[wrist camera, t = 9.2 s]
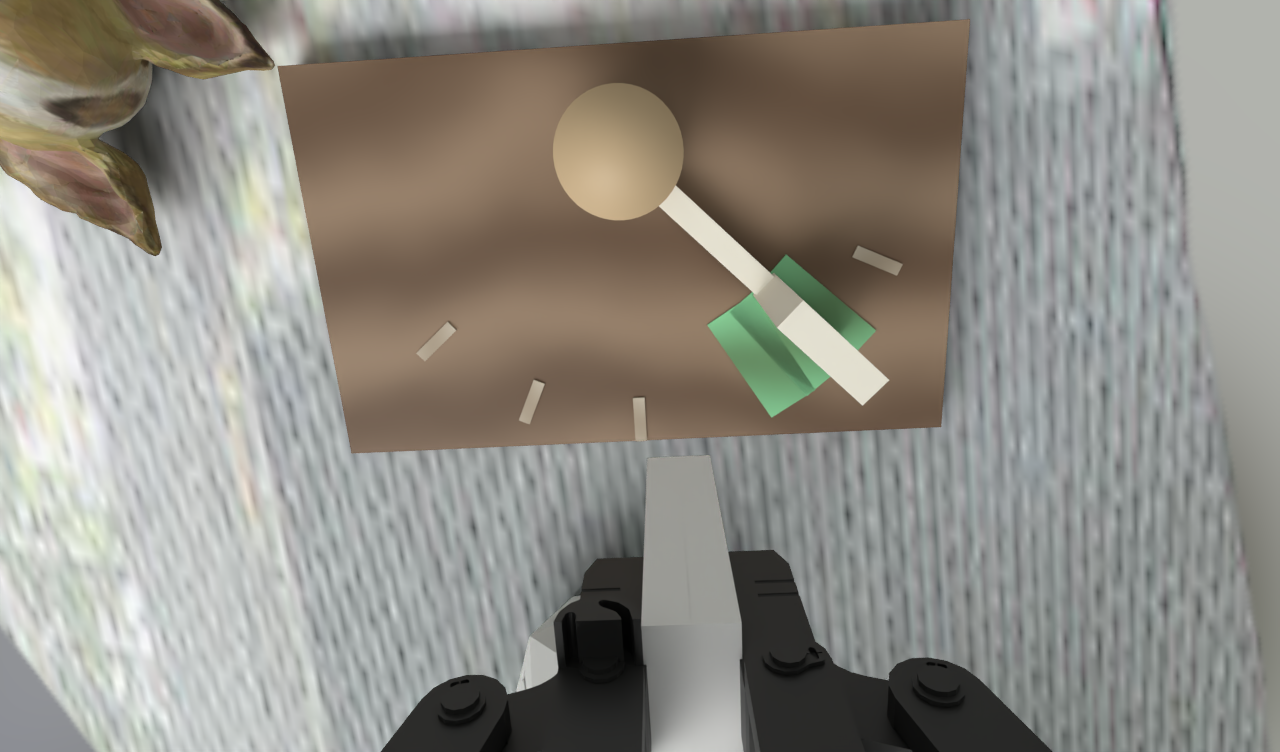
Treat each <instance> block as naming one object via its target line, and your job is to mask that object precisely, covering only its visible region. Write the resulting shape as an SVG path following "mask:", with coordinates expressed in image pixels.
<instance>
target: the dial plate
mask: <svg viewBox="0 0 1280 752" xmlns="http://www.w3.org/2000/svg"><path fill="white" fill-rule="evenodd" d="M969 26H970V19H967V20H952V21H938V22H923V23H908V24H893V25H879V26H864V27H849V28H834V29H820V30H805V31H790V32H775V33H760V34H746V35H731V36H716V37H701V38H687V39H672V40H657V41H642V42H628V43H613V44H598V45H583V46H569V47H554V48H539V49H524V50H510V51H495V52H480V53H465V54H451V55H436V56H421V57H406V58H391V59H377V60H362V61H347V62H332V63H318V64H303V65H288V66H278V72H279V77H280V82H281V87H282V92H283V98H284V103H285V108H286V113H287V119H288V124H289V129H290V134H291V139H292V145H293V150H294V155H295V160H296V165H297V171H298V176H299V181H300V186H301V192H302V197H303V202H304V207H305V212H306V218H307V223H308V228H309V233H310V239H311V244H312V249H313V254H314V259H315V265H316V270H317V275H318V280H319V286H320V291H321V296H322V301H323V306H324V312H325V317H326V322H327V327H328V333H329V338H330V343H331V348H332V353H333V359H334V364H335V369H336V374H337V379H338V385H339V390H340V395H341V400H342V406H343V411H344V416H345V421H346V426H347V432H348V437H349V442H350V447H351V453H371V452H394V451H416V450H438V449H461V448H483V447H505V446H528V445H550V444H572V443H595V442H617V441H647V440H662V439H684V438H706V437H728V436H751V435H773V434H795V433H818V432H840V431H862V430H885V429H907V428H929V427H941V421H942V407H943V392H944V378H945V364H946V350H947V336H948V322H949V308H950V294H951V280H952V266H953V252H954V238H955V223H956V209H957V195H958V181H959V167H960V153H961V139H962V125H963V111H964V97H965V83H966V69H967V55H968V40H969ZM610 83H625V84H632V85H635V86H638V87H641V88H643V89H645V90H648V91H649V92H651V93H652V94H654V95H656V96H657V97H658V98H659V99H660V100H662V101H663V103H664V104H665V105H666V106H667V107H668V108H669V110H670V111H671V112H672V114H673V115H674V117H675V119H676V121H677V123H678V126H679V128H680V131H681V135H682V139H683V147H684V158H683V165H682V170H681V173H680V176H679V179H678V181H677V184H676V186H677V187H678V188H679V189H680V190H681V191H682V192H683V193H684V194H686V195H687V196H688V197H689V198H690V199H691V200H692V201H693V202H694V203H695V204H696V205H697V206H698V207H700V208H701V209H702V210H703V211H704V212H705V213H706V214H707V215H708V216H709V217H710V218H711V219H713V220H714V221H715V222H716V223H717V224H718V225H719V226H720V227H721V228H722V229H723V230H724V231H725V232H727V233H728V234H729V235H730V236H731V237H732V238H733V239H734V240H735V241H736V242H737V243H738V244H740V245H741V246H742V247H743V248H744V249H745V250H746V251H747V252H748V253H749V254H750V255H751V256H752V257H754V258H755V259H756V260H757V261H758V262H759V263H760V264H761V265H762V266H763V267H764V268H765V269H766V270H768V271H769V272H770V273H771V274H773V273H775V274H776V275H777V276H778V277H779V278H780V279H781V280H782V281H783V282H784V283H785V284H786V285H788V286H789V287H790V288H791V289H792V290H793V291H794V292H795V293H796V294H797V295H798V296H799V297H800V298H802V299H803V300H804V301H805V302H806V303H807V304H808V305H809V306H810V307H811V308H812V309H813V310H814V311H816V312H817V313H818V314H819V315H820V316H821V317H822V318H823V319H824V320H825V321H826V322H827V323H828V324H830V325H831V326H832V327H833V328H834V329H835V330H836V331H837V332H838V333H839V334H840V335H841V336H842V337H844V338H845V339H846V340H847V341H848V342H849V343H850V344H851V345H852V346H853V347H854V348H855V349H856V350H858V351H859V352H860V353H861V354H862V355H863V356H864V357H865V358H866V359H867V360H868V361H869V362H870V363H872V364H873V365H874V366H875V367H876V368H877V369H878V370H879V371H880V372H881V373H882V374H883V375H884V376H885V377H887V378H888V379H889V381H888V382H887V383H886V384H885V385H884V386H883V387H882V388H881V389H880V390H879V391H878V392H876V393H875V394H874V395H873V396H872V397H871V398H870V399H869V400H868V401H867V402H866V403H865V404H864V405H863V406H862V405H861V404H860V403H859V402H858V401H857V400H856V399H855V398H854V397H852V396H851V395H850V394H849V393H848V392H847V391H846V390H845V389H844V388H843V387H841V386H840V385H839V384H838V383H837V382H836V381H835V380H834V379H833V378H832V377H831V376H829V375H828V374H827V373H826V372H825V371H824V370H823V369H822V368H821V367H820V366H818V365H817V364H816V363H815V362H814V361H813V360H812V359H811V358H810V357H809V356H807V355H806V354H805V353H804V352H803V351H802V350H801V349H800V348H799V347H798V346H796V345H795V344H794V343H793V342H792V341H791V340H790V339H789V338H788V337H787V336H785V335H784V334H783V333H782V332H781V331H780V330H779V329H778V328H777V327H776V326H775V324H774V323H773V322H772V320H771V319H770V318H769V316H768V315H767V314H766V312H765V311H764V309H763V308H762V307H761V305H760V304H759V303H758V301H757V300H756V298H755V297H754V296H753V294H754V293H753V292H752V291H751V290H750V289H749V288H748V287H747V286H746V285H744V284H743V283H742V282H741V281H740V280H739V279H738V278H737V277H736V276H735V275H733V274H732V273H731V272H730V271H729V270H728V269H727V268H726V267H725V266H724V265H723V264H721V263H720V262H719V261H718V260H717V259H716V258H715V257H714V256H713V255H712V254H710V253H709V252H708V251H707V250H706V249H705V248H704V247H703V246H702V245H701V244H700V243H698V242H697V241H696V240H695V239H694V238H693V237H692V236H691V235H690V234H689V233H688V232H686V231H685V230H684V229H683V228H682V227H681V226H680V225H679V224H678V223H677V222H675V221H674V220H673V219H672V218H671V217H670V216H669V215H668V214H667V213H666V212H665V211H663V210H662V209H661V208H660V207H659V206H658V207H657V208H655V209H654V210H653V211H651V212H649V213H647V214H645V215H643V216H640V217H638V218H634V219H629V220H609V219H604V218H600V217H597V216H595V215H592V214H590V213H588V212H587V211H585V210H583V209H582V208H581V207H579V206H578V205H577V204H576V203H575V202H574V201H573V200H572V199H571V198H570V197H569V196H568V194H567V193H566V192H565V190H564V189H563V187H562V185H561V183H560V181H559V179H558V176H557V173H556V170H555V166H554V160H553V143H554V137H555V132H556V129H557V126H558V123H559V121H560V119H561V117H562V115H563V114H564V112H565V111H566V109H567V108H568V107H569V106H570V105H571V103H572V102H573V101H574V100H575V99H577V98H578V97H579V96H580V95H582V94H583V93H585V92H586V91H588V90H590V89H592V88H595V87H597V86H601V85H604V84H610Z"/></svg>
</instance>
